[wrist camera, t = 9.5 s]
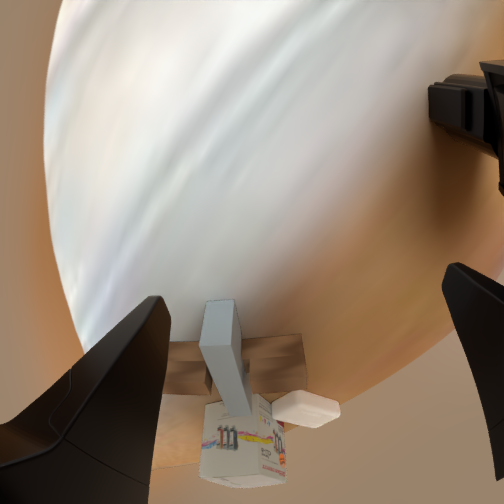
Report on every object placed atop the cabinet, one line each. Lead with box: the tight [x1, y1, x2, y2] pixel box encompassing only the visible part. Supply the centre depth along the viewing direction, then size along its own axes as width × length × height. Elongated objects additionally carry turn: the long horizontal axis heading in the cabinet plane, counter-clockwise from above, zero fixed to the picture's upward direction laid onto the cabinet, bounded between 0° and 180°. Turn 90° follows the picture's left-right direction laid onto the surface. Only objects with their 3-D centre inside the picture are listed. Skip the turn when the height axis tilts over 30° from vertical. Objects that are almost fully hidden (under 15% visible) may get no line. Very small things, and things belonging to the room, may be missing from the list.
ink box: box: [199, 394, 287, 488], centre depth 30 cm, size 9×9×12 cm
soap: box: [271, 390, 341, 428], centre depth 34 cm, size 9×6×3 cm, turn 52°
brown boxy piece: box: [162, 334, 308, 395], centre depth 25 cm, size 14×2×5 cm, turn 97°
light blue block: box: [199, 299, 252, 416], centre depth 25 cm, size 2×13×5 cm, turn 7°
